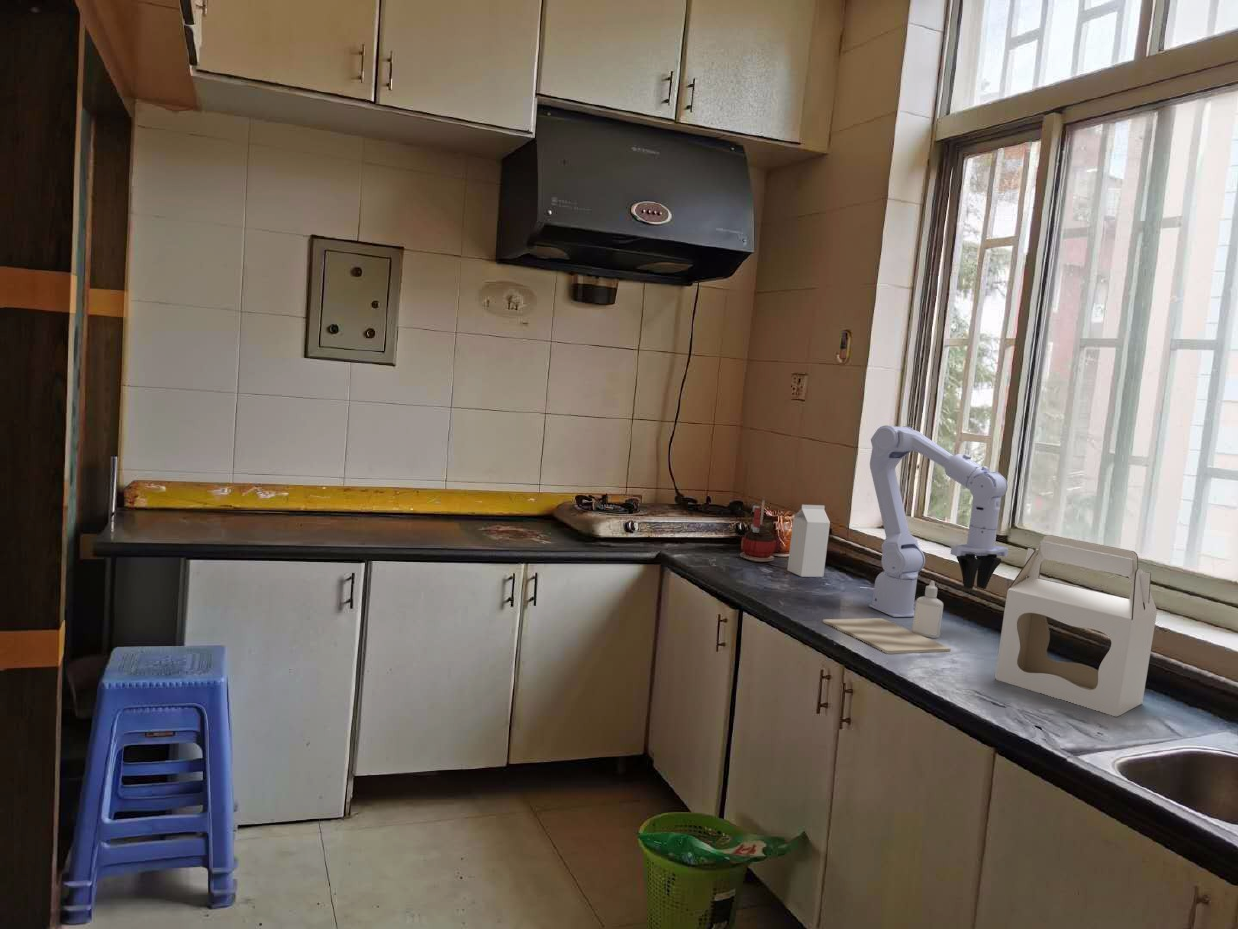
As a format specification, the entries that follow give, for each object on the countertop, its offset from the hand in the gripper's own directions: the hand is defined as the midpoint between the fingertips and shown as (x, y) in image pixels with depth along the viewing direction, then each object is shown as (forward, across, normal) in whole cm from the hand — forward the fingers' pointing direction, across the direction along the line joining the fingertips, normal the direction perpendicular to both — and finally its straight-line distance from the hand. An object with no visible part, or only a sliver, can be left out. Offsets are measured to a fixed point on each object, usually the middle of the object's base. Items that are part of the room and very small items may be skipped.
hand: (974, 587), depth 211 cm
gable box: (+11, -9, -35) cm, 38 cm away
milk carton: (+11, -6, +55) cm, 56 cm away
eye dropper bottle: (+11, -12, 0) cm, 16 cm away
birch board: (+10, -23, 0) cm, 25 cm away
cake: (+11, -11, +72) cm, 74 cm away
